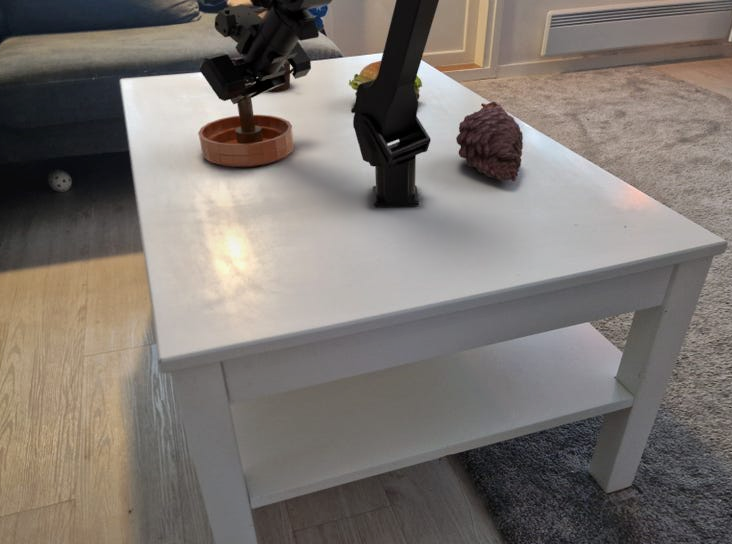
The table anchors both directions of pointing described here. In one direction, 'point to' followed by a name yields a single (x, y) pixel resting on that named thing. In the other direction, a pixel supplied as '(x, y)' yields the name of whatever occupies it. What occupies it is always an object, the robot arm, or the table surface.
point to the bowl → (226, 151)
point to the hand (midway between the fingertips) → (238, 99)
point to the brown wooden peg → (247, 123)
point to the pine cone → (491, 142)
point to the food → (371, 73)
